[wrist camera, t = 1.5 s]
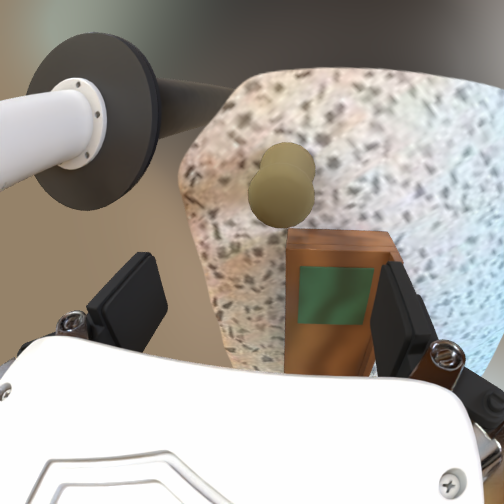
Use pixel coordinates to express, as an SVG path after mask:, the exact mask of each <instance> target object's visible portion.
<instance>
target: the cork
mask: <svg viewBox="0 0 504 504" xmlns="http://www.w3.org/2000/svg"><path fill="white" fill-rule="evenodd" d="M314 176H315V164H314V161H313V158H312V156H311V155H310V154H309V152H308V151H307V150H306V149H304V148H303V147H302V146H300V145H297V144H294V143H285V142H283V143H279V144H276V145H274V146H272V147H271V148H269V149H268V150H267V151H266V153H265V154H264V155H263V157H262V160H261V163H260V170H259V171H258V172H257V174H256V175H255V176H254V178H253V179H252V181H251V183H250V186H249V189H248V201H249V204H250V207H251V210H252V212H253V213H254V214H255V216H256V217H257V218H258V219H259V220H260V221H261V222H263V223H264V224H266V225H268V226H271V227H274V228H289V227H293V226H296V225H297V224H299V223H301V222H302V221H303V220H304V219H305V218H306V217H307V216H308V215H309V213H310V212H311V210H312V207H313V205H314V196H315V192H314V188H313V185H312V181H313V179H314Z"/></svg>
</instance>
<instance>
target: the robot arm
mask: <svg viewBox="0 0 504 504" xmlns="http://www.w3.org/2000/svg"><path fill="white" fill-rule="evenodd" d="M106 128H107V113H106V107H105V103H104V100H103V97H102V95H101V93H100V91H99V90H98V88H97V87H96V86H95V85H94V84H93V83H92V82H90V81H88V80H86V79H83V78H70V79H66V80H64V81H62V82H60V83H59V84H58V85H56V86H55V87H54V88H53V90H52V91H51V92H46V93H39V94H33V95H27V96H22V97H17V98H12V99H7V100H3V101H0V192H1V191H3V190H5V189H7V188H9V187H11V186H13V185H14V184H16V183H19V182H20V181H23V180H25V179H27V178H29V177H31V176H33V175H35V174H37V173H40V172H42V171H44V170H46V169H49V168H51V167H53V166H56V165H58V166H60V167H62V168H64V169H69V170H72V169H78V168H80V167H83V166H85V165H87V164H88V163H89V162H91V161H92V160H93V159H94V158H95V156H96V155H97V154H98V152H99V150H100V149H101V147H102V144H103V141H104V138H105V134H106ZM86 308H87V310H88V314H87V315H86V314H85V313H84V312H83V311H71V312H69V313H66V314H65V315H64V316H62V317H61V318H60V319H59V321H58V322H57V325H56V332H54V333H51V334H48V335H46V336H43V337H41V338H38V339H35V340H33V341H30V342H27V343H25V344H23V345H22V347H21V348H20V350H19V352H18V354H17V359H15V357H13V358H12V359H10V360H9V361H7V362H6V363H4V364H3V365H1V366H0V504H504V392H503V391H502V390H501V389H499V388H498V387H496V386H495V385H493V384H491V383H490V382H488V381H487V380H485V379H484V378H482V377H480V376H479V375H477V374H476V373H474V372H472V371H471V370H469V369H468V368H466V367H464V365H465V361H466V358H465V354H464V352H463V350H462V349H461V347H460V346H459V345H457V344H456V343H454V342H452V341H449V340H443V339H442V340H439V339H438V337H437V334H436V332H435V329H434V326H433V324H432V321H431V319H430V316H429V314H428V312H427V309H426V307H425V304H424V302H423V300H422V298H421V296H420V295H416V292H415V290H414V288H413V285H412V283H411V281H410V279H409V277H408V274H407V272H406V270H405V268H404V266H403V264H402V262H400V261H387V263H386V265H382V267H381V271H380V276H379V281H378V286H377V291H376V296H375V300H374V305H373V309H372V313H371V317H370V329H371V335H372V340H373V346H374V353H375V359H376V366H377V373H378V377H359V376H322V375H301V374H286V373H273V372H262V371H253V370H243V369H235V368H227V367H220V366H211V365H205V364H199V363H193V362H187V361H181V360H176V359H170V358H165V357H160V356H154V355H150V354H145V353H143V351H144V349H145V347H146V346H147V344H148V342H149V341H150V339H151V337H152V336H153V334H154V333H155V331H156V329H157V328H158V326H159V324H160V323H161V321H162V319H163V318H164V316H165V315H166V313H167V310H168V305H167V301H166V297H165V294H164V290H163V286H162V283H161V279H160V275H159V271H158V267H157V264H156V260H155V257H154V256H152V255H151V253H149V252H137V253H136V254H135V255H134V256H133V257H132V258H131V259H130V260H129V261H128V262H127V263H126V264H125V265H124V266H123V267H122V268H121V269H120V270H119V271H118V272H117V273H116V274H115V275H114V277H113V278H111V280H110V281H109V282H108V283H107V284H106V285H105V286H104V287H103V288H102V289H101V290H100V291H99V293H98V294H97V295H96V296H95V297H94V298H93V299H92V300H91V301H90V302H89V303H88V305H87V306H86Z"/></svg>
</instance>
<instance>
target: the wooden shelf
mask: <svg viewBox="0 0 504 504" xmlns="http://www.w3.org/2000/svg"><path fill="white" fill-rule="evenodd" d="M387 261H400V262H402V264H403V263H404V262H403V260H402V258H401V256H400V254H399V252H398V250H397V248H396V246H395V244H394V242H393V241H392V239H391V237H390V235H389V233H388V232H382V231H358V230H330V229H295V228H289V229H288V236H287V243H286V304H285V354H284V373H286V374H301V375H322V376H359V377H369V375H370V373H371V370H372V368H373V365H374V362H375V353H374V346H373V340H372V335H371V329H370V317H371V313H372V309H373V305H374V300H375V296H376V291H377V286H378V281H379V276H380V271H381V267H382V265H386V263H387Z"/></svg>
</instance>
